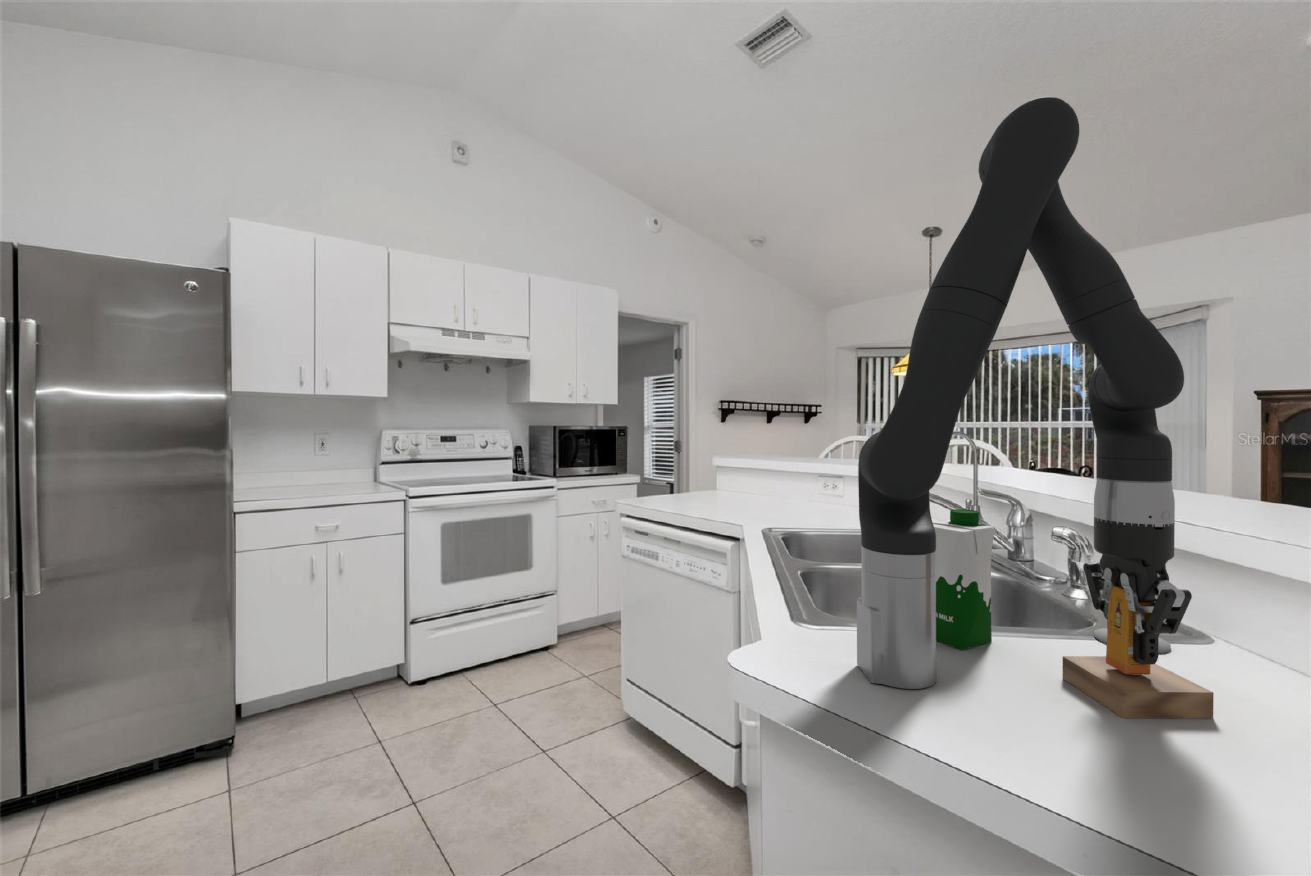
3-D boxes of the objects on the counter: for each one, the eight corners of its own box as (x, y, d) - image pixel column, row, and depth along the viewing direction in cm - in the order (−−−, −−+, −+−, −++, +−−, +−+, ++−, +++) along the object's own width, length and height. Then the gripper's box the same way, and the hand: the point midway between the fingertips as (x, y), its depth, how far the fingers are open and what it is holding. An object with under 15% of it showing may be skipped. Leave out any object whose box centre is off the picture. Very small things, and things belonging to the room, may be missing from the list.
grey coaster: (1124, 653, 82) (1124, 650, 82) (1080, 631, 91) (1080, 628, 91) (1188, 653, 82) (1188, 650, 82) (1137, 631, 91) (1137, 628, 91)
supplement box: (1154, 675, 67) (1156, 592, 67) (1125, 675, 67) (1126, 592, 67) (1132, 663, 71) (1133, 584, 70) (1103, 663, 71) (1105, 584, 71)
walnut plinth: (1122, 717, 64) (1122, 691, 64) (1062, 678, 74) (1062, 656, 74) (1213, 718, 64) (1213, 692, 64) (1140, 679, 74) (1140, 656, 74)
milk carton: (1001, 642, 87) (1001, 513, 86) (963, 654, 83) (963, 518, 82) (948, 625, 94) (948, 506, 94) (912, 634, 90) (911, 510, 90)
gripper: (1061, 508, 76) (1061, 635, 76) (1149, 526, 62) (1148, 682, 62) (1118, 508, 76) (1118, 635, 76) (1220, 526, 61) (1218, 683, 62)
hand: (1131, 655), depth 69 cm, fingers closed on supplement box, 3 cm apart
